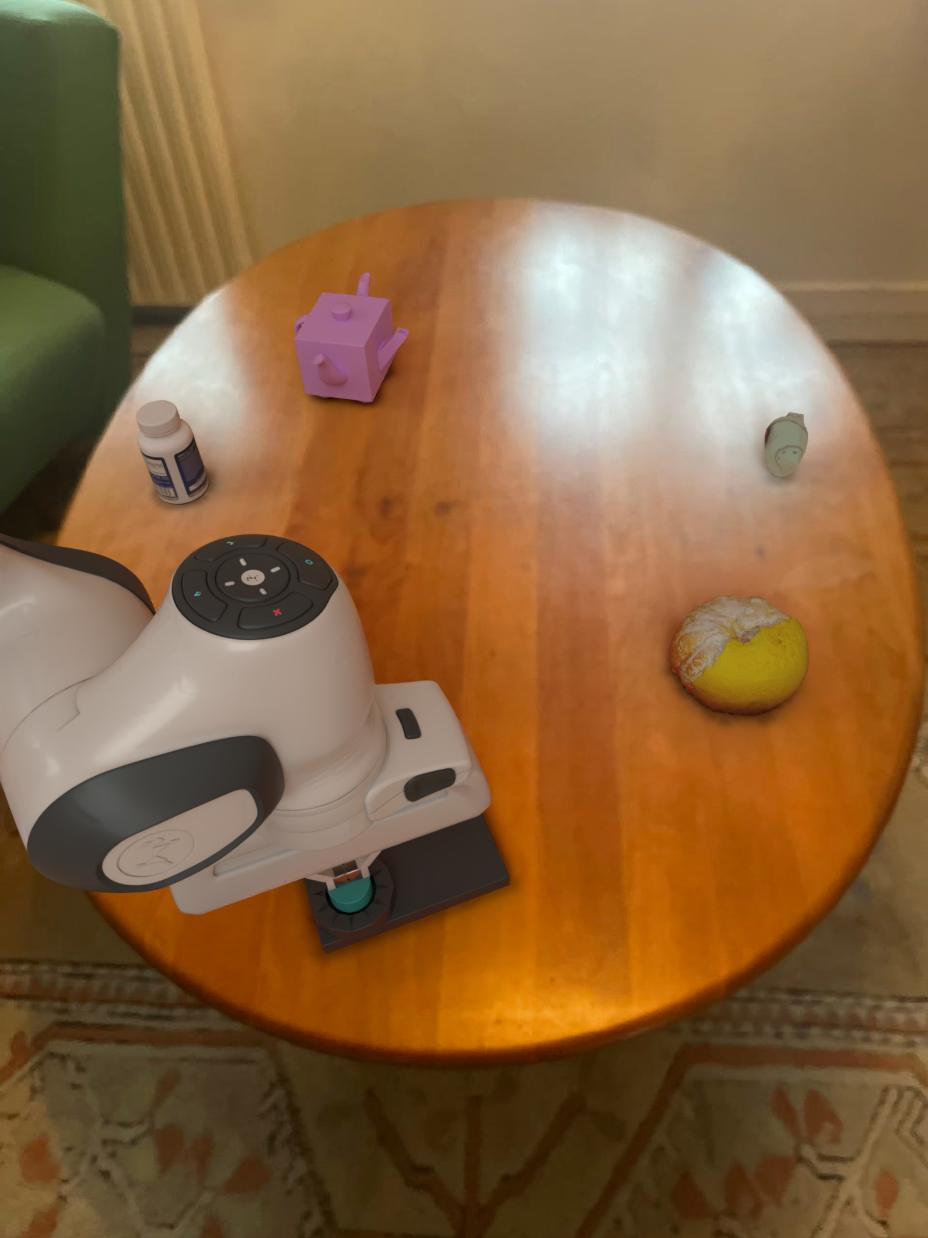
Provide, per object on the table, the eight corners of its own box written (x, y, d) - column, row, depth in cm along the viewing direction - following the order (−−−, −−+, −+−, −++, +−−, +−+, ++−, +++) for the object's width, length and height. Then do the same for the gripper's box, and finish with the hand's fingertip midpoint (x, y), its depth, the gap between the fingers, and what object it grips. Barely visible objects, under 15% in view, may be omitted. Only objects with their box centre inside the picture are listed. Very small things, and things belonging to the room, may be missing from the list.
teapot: (390, 439, 103) (380, 362, 95) (276, 424, 105) (258, 348, 98) (434, 343, 114) (428, 268, 106) (330, 332, 116) (317, 258, 109)
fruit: (781, 610, 85) (811, 571, 77) (801, 724, 80) (834, 694, 73) (656, 614, 84) (673, 576, 77) (669, 728, 80) (689, 699, 73)
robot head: (794, 503, 94) (810, 449, 89) (752, 496, 95) (765, 443, 90) (799, 451, 99) (815, 398, 94) (759, 445, 100) (773, 392, 94)
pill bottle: (205, 465, 101) (180, 389, 94) (213, 498, 98) (188, 422, 90) (154, 477, 100) (125, 402, 93) (160, 510, 97) (130, 435, 90)
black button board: (326, 960, 67) (320, 944, 64) (285, 812, 74) (277, 793, 72) (512, 890, 69) (512, 872, 67) (453, 754, 77) (451, 734, 75)
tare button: (336, 919, 66) (333, 910, 65) (325, 881, 68) (321, 871, 66) (378, 904, 66) (375, 894, 65) (365, 866, 68) (363, 856, 67)
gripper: (135, 879, 50) (202, 974, 60) (499, 754, 54) (502, 863, 64) (120, 781, 54) (186, 886, 64) (460, 671, 58) (469, 787, 68)
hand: (346, 874), depth 64 cm, fingers closed
